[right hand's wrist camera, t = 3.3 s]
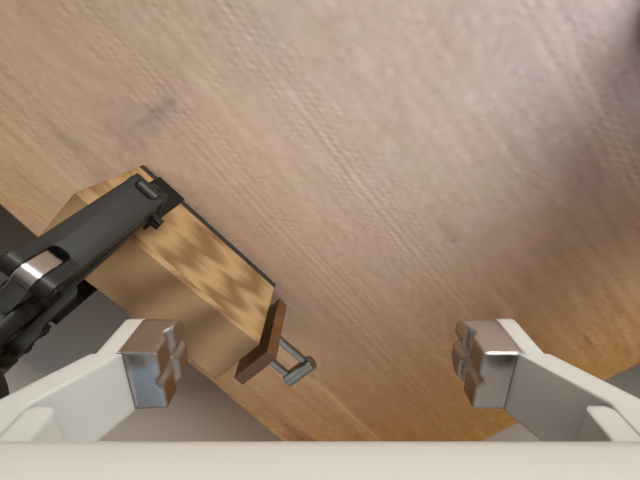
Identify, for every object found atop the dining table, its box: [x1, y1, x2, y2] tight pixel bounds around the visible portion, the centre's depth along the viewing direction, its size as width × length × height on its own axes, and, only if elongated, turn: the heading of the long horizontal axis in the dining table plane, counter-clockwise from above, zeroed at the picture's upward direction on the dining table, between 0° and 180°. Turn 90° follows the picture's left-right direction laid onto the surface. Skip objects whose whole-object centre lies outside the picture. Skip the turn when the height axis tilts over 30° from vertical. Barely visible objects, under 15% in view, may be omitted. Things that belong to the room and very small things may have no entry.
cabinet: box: [40, 165, 275, 379], centre depth 35 cm, size 19×6×11 cm, turn 43°
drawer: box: [234, 299, 317, 386], centre depth 37 cm, size 24×5×9 cm, turn 43°
